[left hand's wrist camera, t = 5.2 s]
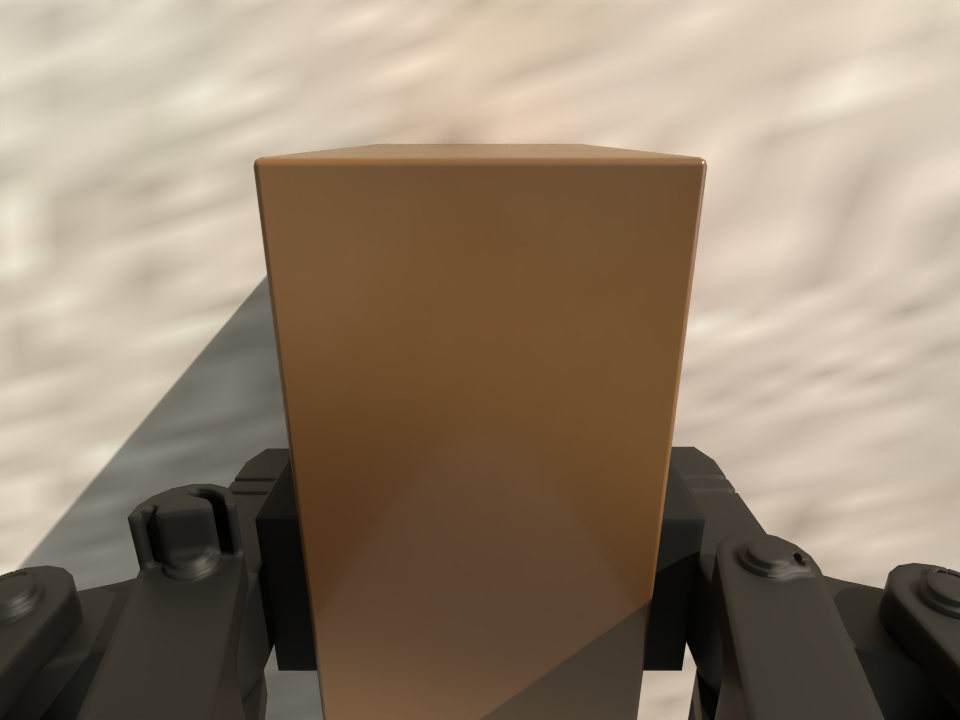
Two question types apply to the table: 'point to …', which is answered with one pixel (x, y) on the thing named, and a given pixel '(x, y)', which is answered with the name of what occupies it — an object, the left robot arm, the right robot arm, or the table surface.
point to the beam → (480, 416)
